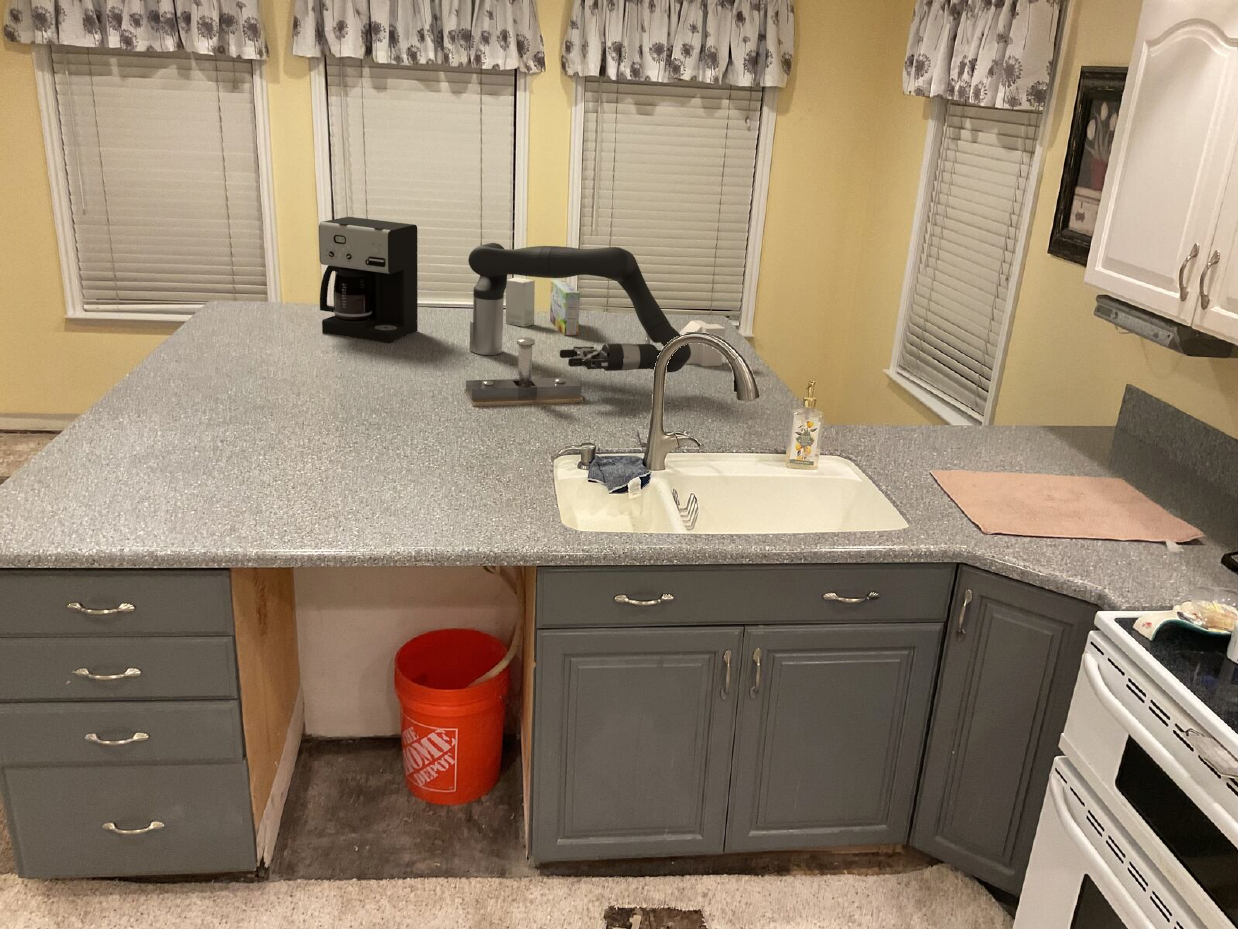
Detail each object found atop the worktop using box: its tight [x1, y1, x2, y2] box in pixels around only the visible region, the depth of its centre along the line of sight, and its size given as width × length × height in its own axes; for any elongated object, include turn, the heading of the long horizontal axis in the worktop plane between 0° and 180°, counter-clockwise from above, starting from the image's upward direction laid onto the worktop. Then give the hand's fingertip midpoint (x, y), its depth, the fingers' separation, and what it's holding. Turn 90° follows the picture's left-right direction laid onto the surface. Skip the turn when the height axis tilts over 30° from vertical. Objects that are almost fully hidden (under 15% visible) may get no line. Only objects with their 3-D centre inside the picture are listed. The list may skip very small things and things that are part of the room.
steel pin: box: [516, 337, 536, 386], centre depth 271 cm, size 5×5×15 cm
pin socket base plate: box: [463, 376, 584, 407], centre depth 274 cm, size 30×12×5 cm, turn 109°
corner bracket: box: [678, 319, 726, 367], centre depth 320 cm, size 11×11×12 cm
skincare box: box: [505, 276, 536, 328], centre depth 349 cm, size 8×7×16 cm
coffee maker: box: [318, 216, 419, 344], centre depth 322 cm, size 28×20×35 cm
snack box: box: [549, 279, 581, 337], centre depth 348 cm, size 21×6×15 cm, turn 17°
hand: (564, 358), depth 275 cm, fingers open, 8 cm apart
